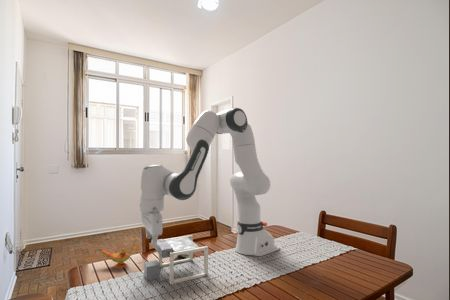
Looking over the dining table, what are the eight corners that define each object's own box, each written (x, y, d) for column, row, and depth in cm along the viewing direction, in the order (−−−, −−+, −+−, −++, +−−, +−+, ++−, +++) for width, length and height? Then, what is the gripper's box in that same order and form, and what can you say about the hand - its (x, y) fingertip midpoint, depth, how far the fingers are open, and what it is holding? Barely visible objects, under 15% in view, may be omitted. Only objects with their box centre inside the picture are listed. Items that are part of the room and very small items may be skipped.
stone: (156, 272, 102) (156, 259, 102) (159, 277, 97) (160, 264, 97) (144, 275, 99) (144, 262, 100) (146, 280, 95) (146, 267, 95)
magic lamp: (100, 262, 112) (100, 237, 112) (140, 262, 111) (140, 237, 112) (91, 268, 105) (92, 242, 105) (134, 269, 104) (134, 242, 105)
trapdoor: (186, 241, 112) (186, 234, 112) (199, 251, 99) (199, 244, 99) (153, 246, 105) (153, 239, 105) (162, 259, 92) (162, 250, 92)
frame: (191, 259, 115) (191, 234, 115) (208, 275, 99) (208, 246, 99) (158, 266, 107) (158, 240, 108) (170, 284, 92) (170, 253, 92)
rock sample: (188, 253, 111) (181, 237, 117) (175, 264, 112) (168, 247, 117) (200, 256, 119) (193, 241, 125) (188, 266, 120) (181, 250, 125)
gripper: (167, 209, 92) (166, 248, 91) (154, 201, 110) (153, 233, 109) (149, 211, 89) (148, 251, 88) (139, 202, 107) (138, 235, 106)
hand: (151, 241), depth 99 cm, fingers open, 8 cm apart
